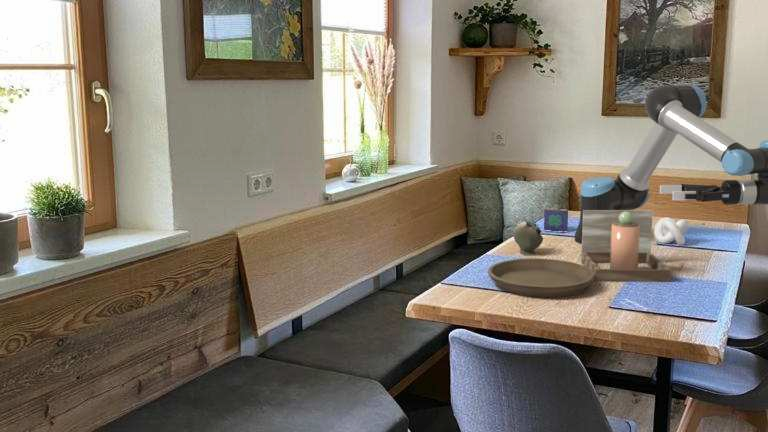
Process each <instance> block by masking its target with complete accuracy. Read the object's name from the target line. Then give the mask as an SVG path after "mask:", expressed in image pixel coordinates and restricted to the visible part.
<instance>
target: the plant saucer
mask: <svg viewBox="0 0 768 432" xmlns="http://www.w3.org/2000/svg"><path fill="white" fill-rule="evenodd" d="M487 274H488V276H489V277H490V279H491V280H492V281H493V283H495V285H496V286H497V288H499V289H501V291H504V292H506V293H507V292H508V293H510V294H515V295H519V296H525V297H535V298H559V297H569V296H574V295H577V294H580V293H582V292H584V291H585V290H586V288H587V287H588V286H590V285H591V284H592V283H593V281H595V280H594V277H595V274H594V272H593V271H592V270H591V269H589V268H588V267H585V266H584V265H583V264H580V263H577V262H572V261H567V260H566V261H565V260H560V259H554V258H553V259H552V258H551V259H550V258H539V257H538V258H529V257H528V258H516V259H508V260H503V261H499V262H495V263H494V264H492V265H491V266H489V268H488V270H487Z"/></svg>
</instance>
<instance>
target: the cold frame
mask: <svg viewBox="0 0 768 432" xmlns="http://www.w3.org/2000/svg"><path fill="white" fill-rule="evenodd" d="M625 211H627V212H630V213H631V214H632V215H633V222H635V223H638V224H639V225H640V234H639V254H638V264H647V265H648V266H649V267H650V268H646V269H645V268H643V269H642V268H638V269H610V268H599V267H598V266H597V264H610V252H611V229H612V223H613V222H617V221H619V215H620V214H621V213H622V212H625ZM652 229H653V210H652V209H634V210H583V229H582V243H581V257H580V258H581V259H580V261H581V265H583V266H585V267H588V268H589V269H591V270H592V271H593V272H594V274H595V277H594V280H593V281H595V282H631V283H632V282H639V283H640V282H641V283H642V282H644V283H645V282H648V283H651V282H652V283H654V282H655V283H657V282H658V283H665V282H667V283H670V282H671V280H672V270H671V268H669V267H668V266H666V265H665V264H664V263H663V262H662V261H661V260H660V259H659V258H657V257H656V256H655V255H653V254H652V253H651V248H652V232H653V231H652Z"/></svg>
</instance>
